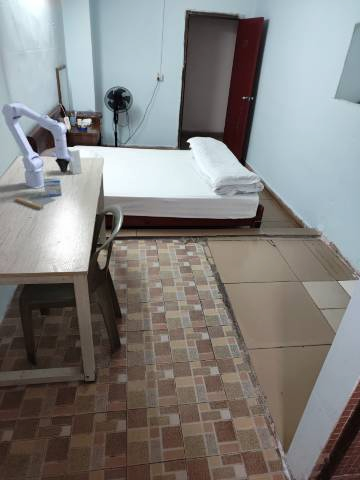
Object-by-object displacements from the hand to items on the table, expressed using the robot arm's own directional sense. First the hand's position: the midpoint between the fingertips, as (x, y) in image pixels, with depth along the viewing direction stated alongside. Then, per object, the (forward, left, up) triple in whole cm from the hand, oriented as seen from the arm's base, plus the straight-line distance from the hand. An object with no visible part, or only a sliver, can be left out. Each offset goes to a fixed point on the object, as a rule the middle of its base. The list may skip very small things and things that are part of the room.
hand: (64, 172), depth 180 cm
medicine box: (0, -9, -11) cm, 14 cm away
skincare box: (-17, +25, -11) cm, 32 cm away
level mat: (0, -19, -10) cm, 22 cm away
